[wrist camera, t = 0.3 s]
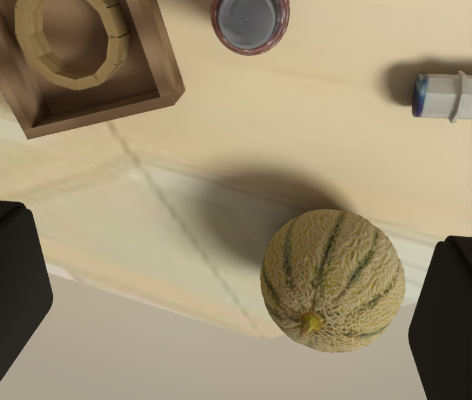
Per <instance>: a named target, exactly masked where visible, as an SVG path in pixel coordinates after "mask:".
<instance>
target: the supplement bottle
mask: <svg viewBox="0 0 472 400" xmlns="http://www.w3.org/2000/svg"><path fill="white" fill-rule="evenodd" d="M289 13H290V7H289V0H213V1H212V5H211V21H212V25H213V29H214V31H215V33H216V35H217V37H218V38H219V40H220V41H221V42H222V43H223V45H225V46H226V47H227V48H228V49H230V50H231V51H233V52H235V53H237V54H241V55H246V56H251V55H258V54H262V53H265V52H267V51H268V50H270V49H271V48H273V47H274V46H275V45H276V44H277V43H278V42H279V41H280V40H281V38H282V37H283V35H284V33H285V32H286V29H287V26H288V22H289Z"/></svg>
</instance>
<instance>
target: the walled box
mask: <svg viewBox="0 0 472 400" xmlns="http://www.w3.org/2000/svg"><path fill="white" fill-rule="evenodd" d="M0 88H1V90H2V92H3V94H4V96H5V98H6V100H7V102H8V103H9V105H10V107H11V109H12V111H13V113H14V115H15V117H16V118H17V120H18V122H19V124H20V126H21V128H22V130H23V132H24V133H25V135H26V137H27V139H32V138H37V137H41V136H45V135H49V134H54V133H58V132H62V131H66V130H71V129H75V128H79V127H83V126H88V125H92V124H96V123H100V122H105V121H109V120H113V119H117V118H122V117H126V116H130V115H134V114H139V113H143V112H147V111H151V110H156V109H160V108H164V107H169V106H173V105H175V103H176V102H177V101H178V99H179V98H180V97H181V96H182V94H183V93H184V92H185V87H184V84H183V81H182V78H181V74H180V71H179V68H178V65H177V62H176V59H175V56H174V53H173V49H172V46H171V43H170V40H169V37H168V34H167V31H166V28H165V25H164V21H163V18H162V15H161V12H160V9H159V6H158V3H157V0H0Z"/></svg>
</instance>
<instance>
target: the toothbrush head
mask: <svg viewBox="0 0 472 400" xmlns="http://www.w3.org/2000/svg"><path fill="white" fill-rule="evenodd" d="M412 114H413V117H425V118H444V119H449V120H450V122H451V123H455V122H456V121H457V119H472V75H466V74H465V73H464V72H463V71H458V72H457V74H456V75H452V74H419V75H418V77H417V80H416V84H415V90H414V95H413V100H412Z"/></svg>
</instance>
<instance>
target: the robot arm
mask: <svg viewBox="0 0 472 400" xmlns="http://www.w3.org/2000/svg"><path fill="white" fill-rule="evenodd" d="M52 302H53V293H52V289H51V285H50V281H49V277H48V273H47V269H46V265H45V261H44V257H43V253H42V249H41V245H40V241H39V237H38V233H37V229H36V225H35V222H34V218H33V214H32V212H31V211H30V210H29V209H26V206H25V205H24V204H23V203H21V202H12V201H0V381H1V380H2V378H3V377H4V375H5V374H6V372H7V371H8V369H9V368H10V367H11V365H12V364H13V362H14V361H15V359H16V358H17V356H18V355H19V354H20V352H21V350H22V349H23V348H24V346H25V345H26V343H27V342H28V340H29V339H30V337H31V336H32V334H33V333H34V332H35V330H36V329H37V327H38V326H39V325H40V323H41V322H42V320H43V319H44V317H45V316H46V314H47V313H48V311H49V310H50V308H51V306H52ZM408 339H409V345H410V348H411V351H412V354H413V357H414V360H415V363H416V366H417V369H418V372H419V376H420V379H421V382H422V385H423V388H424V391H425V394H426V397H427V400H472V237H463V236H448V237H447V238H446V239H445V241H444V242H443V241H440V242H438V243H437V244H436V247H435V250H434V253H433V256H432V259H431V262H430V265H429V268H428V271H427V274H426V278H425V281H424V284H423V287H422V290H421V293H420V296H419V299H418V302H417V306H416V309H415V312H414V315H413V318H412V321H411V324H410V327H409V333H408Z"/></svg>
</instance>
